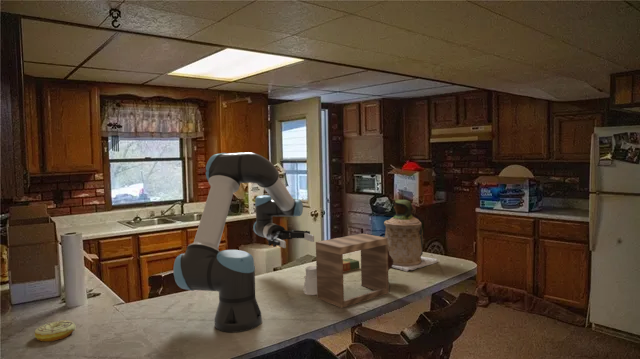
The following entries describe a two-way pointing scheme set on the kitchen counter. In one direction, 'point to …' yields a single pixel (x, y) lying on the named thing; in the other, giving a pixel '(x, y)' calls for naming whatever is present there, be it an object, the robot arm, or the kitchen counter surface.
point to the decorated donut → (54, 330)
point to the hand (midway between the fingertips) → (299, 241)
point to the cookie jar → (406, 238)
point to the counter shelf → (332, 267)
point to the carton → (350, 264)
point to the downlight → (310, 281)
